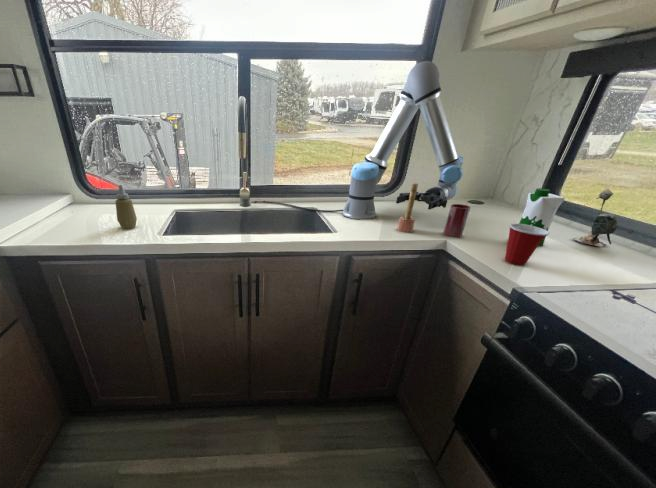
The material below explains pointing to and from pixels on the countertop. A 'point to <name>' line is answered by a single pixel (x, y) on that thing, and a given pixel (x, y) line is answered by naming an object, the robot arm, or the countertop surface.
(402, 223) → the straw caddy
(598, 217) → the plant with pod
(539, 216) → the milk carton
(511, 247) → the plastic cup
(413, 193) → the straw
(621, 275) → the countertop surface
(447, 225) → the can
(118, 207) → the squeeze bottle
